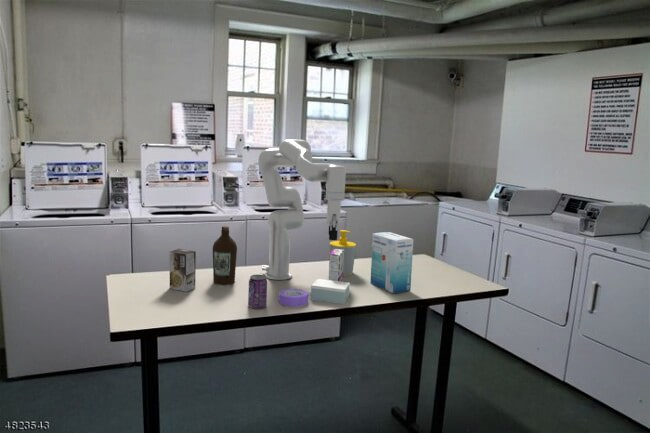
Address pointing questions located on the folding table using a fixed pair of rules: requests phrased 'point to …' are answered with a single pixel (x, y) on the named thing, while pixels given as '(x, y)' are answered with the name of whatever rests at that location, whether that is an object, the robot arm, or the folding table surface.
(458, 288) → the folding table surface
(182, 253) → the coffee box
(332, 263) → the candy bar box
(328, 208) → the robot arm
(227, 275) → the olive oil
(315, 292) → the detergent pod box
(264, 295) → the beverage can
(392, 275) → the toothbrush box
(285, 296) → the masking tape
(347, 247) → the soap bottle
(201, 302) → the folding table surface
